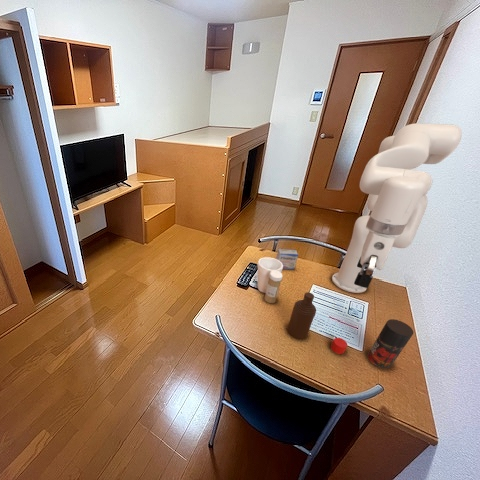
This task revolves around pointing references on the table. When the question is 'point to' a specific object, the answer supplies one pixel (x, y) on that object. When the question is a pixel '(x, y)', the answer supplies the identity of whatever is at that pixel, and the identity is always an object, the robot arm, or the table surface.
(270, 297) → the sprinkles bottle
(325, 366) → the table surface
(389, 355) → the deodorant
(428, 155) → the robot arm
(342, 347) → the cap
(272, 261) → the foam cup
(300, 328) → the sauce bottle
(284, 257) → the medicine box
